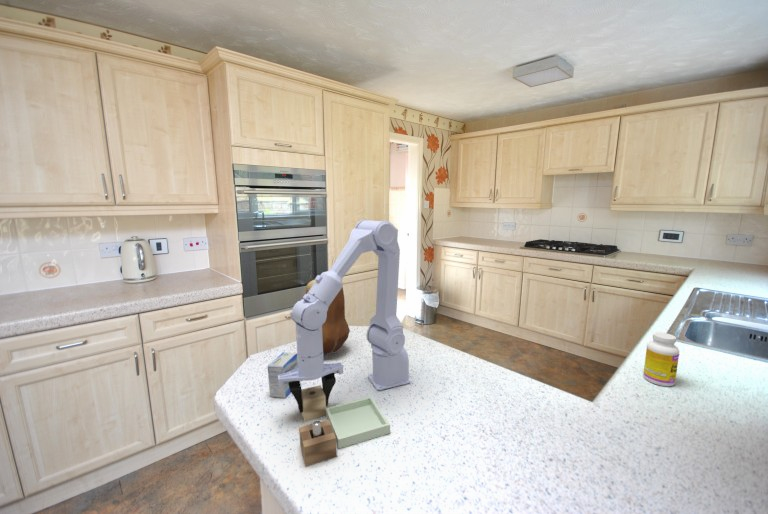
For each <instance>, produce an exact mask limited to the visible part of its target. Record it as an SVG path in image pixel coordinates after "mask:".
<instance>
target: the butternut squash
mask: <svg viewBox="0 0 768 514" xmlns="http://www.w3.org/2000/svg"><path fill="white" fill-rule="evenodd" d="M315 282H316V280H315V279H313V280H311V281H309V282H308V283H307V284H306V289H305V294H307V293H308V291H309V290H310V289H311V287H312V286H313V284H314V283H315ZM345 308H346V306H345V294H344V288H343V286H342V288H341V289H340V291H339V292H338V294H337V295H336V297H335V298H334V300H333V301H332V303H331V304H330V306H329V307H328V310H327V318H326V321H325V323H323V325H322V339H323V355H333V354H336V353H337V352H338V351H339V350H341V348H342V347H343V345H344V344H345V342H346V341H347V340H348V338H349V335H350V332H351V330H350V326H349V325H348V324H349V323H348V322H347V320H346V311H345V310H346V309H345Z"/></svg>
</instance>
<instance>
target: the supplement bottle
mask: <svg viewBox="0 0 768 514" xmlns="http://www.w3.org/2000/svg"><path fill="white" fill-rule="evenodd" d="M676 342H677V337H676V336H675V335H673V334H672V333H671V334H670V333H667V332H662V331H661V332H660V331H656V332H653V333H652V340H651V341H648V343H647V344H646V348H645V349H646V350H645V351H646V352H645V358H644V366H643V373H642V374H643V375H642V376H643V377H644V379H645V380H646V381H648V382H650V383H652V384H655V385H657V386H661V387H672V386H674V385H675V383H676V379H677V372H678V365H679V357H680V349H679V348H678V347H677V346H676V345H675V344H676Z"/></svg>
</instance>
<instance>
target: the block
mask: <svg viewBox="0 0 768 514" xmlns="http://www.w3.org/2000/svg"><path fill="white" fill-rule="evenodd" d="M301 389H302V406H303V412H302V413H301V414H302V418H303V421H304V422H310V421H312V420H316V419H321V418H323V417H326V408H327V406H326V396H325V394H324V392H323V389H322V384H320V385H316V386H312V387H311V386H310V387H306V388H301Z"/></svg>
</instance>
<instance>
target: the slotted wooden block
mask: <svg viewBox="0 0 768 514" xmlns="http://www.w3.org/2000/svg"><path fill="white" fill-rule="evenodd" d="M320 422H321V436H319V437H316V438H313V425H312V423H310V424H306V425H303V426H299V428H298V429H299V444H300V445H299V446H300V449H301V451H300V452H301V454H302V458H303V463H304V466H305V467H309V466H311V465H315V464H317V463H321V462H325V461H328V460H331V459H334V458H336V457H337V456H338V455H337V454H338V453H337V452H338V451H337V443H336V437H335V434H334V432H333V429H332V427H331V424H330V422H329V420H327V419H326V420H322V421H320Z"/></svg>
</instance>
